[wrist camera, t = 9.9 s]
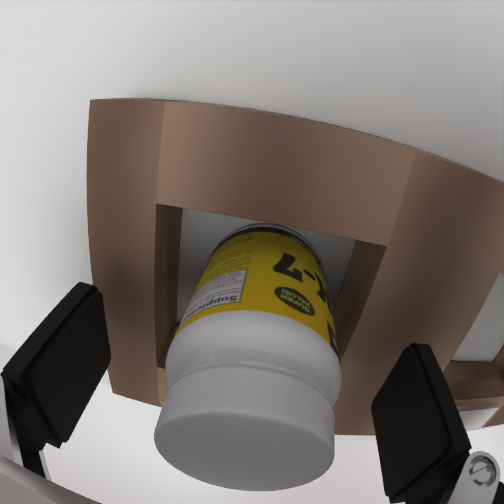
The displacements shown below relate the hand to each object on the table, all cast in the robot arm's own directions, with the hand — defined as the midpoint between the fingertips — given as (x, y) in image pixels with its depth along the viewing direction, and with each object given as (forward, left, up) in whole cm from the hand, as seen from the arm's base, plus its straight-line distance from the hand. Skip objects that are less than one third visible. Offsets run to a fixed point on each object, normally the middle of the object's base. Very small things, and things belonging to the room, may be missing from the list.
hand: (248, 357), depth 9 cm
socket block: (-6, 0, -5) cm, 8 cm away
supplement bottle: (0, 0, -5) cm, 5 cm away
